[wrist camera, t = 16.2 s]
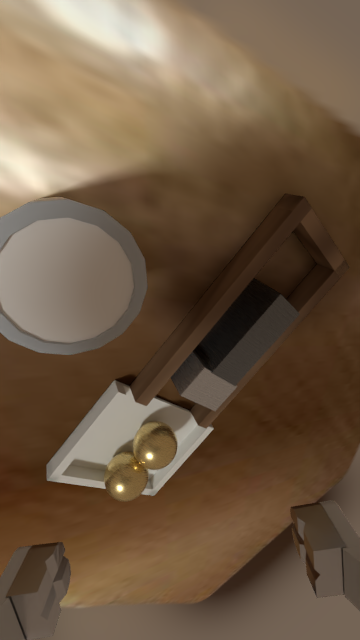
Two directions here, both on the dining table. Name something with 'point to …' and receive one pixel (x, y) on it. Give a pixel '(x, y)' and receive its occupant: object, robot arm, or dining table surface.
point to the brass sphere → (155, 445)
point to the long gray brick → (234, 345)
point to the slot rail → (230, 284)
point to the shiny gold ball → (125, 477)
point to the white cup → (67, 277)
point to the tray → (121, 438)
